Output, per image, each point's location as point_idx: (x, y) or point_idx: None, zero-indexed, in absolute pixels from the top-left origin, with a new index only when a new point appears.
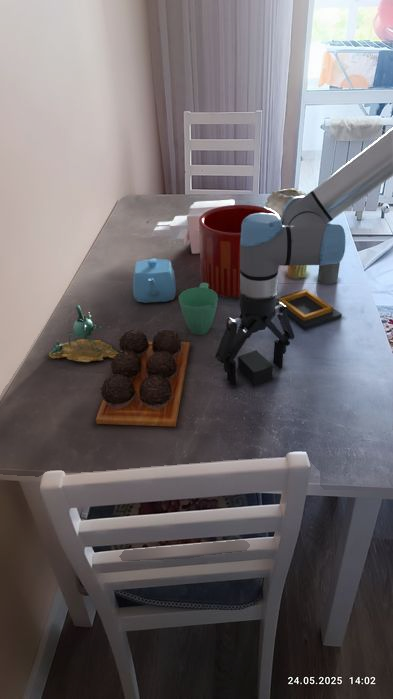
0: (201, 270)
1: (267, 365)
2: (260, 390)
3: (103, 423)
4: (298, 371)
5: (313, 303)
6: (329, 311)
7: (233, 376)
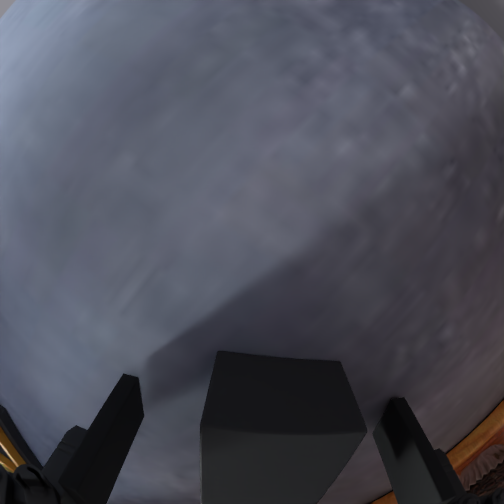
0: None
1: (236, 444)
2: (337, 321)
3: None
4: (69, 308)
5: None
6: None
7: (423, 435)
